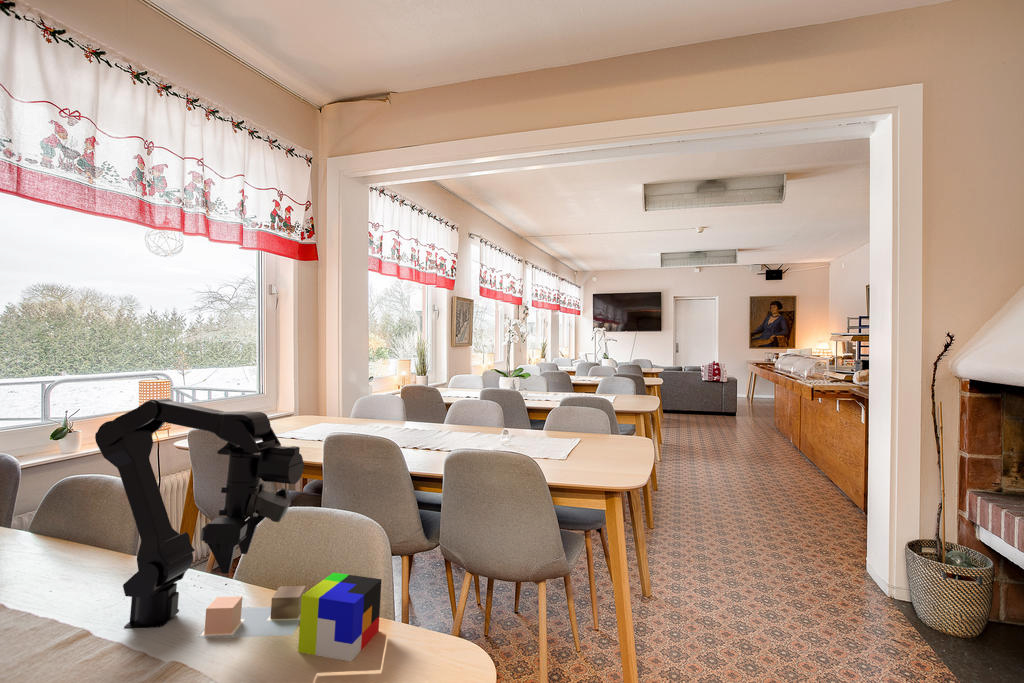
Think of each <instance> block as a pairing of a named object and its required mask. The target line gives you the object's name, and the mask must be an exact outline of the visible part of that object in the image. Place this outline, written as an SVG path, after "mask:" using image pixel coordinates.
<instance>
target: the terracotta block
mask: <svg viewBox="0 0 1024 683" xmlns="http://www.w3.org/2000/svg"><path fill="white" fill-rule="evenodd" d="M242 608H243V596H241V595H240V596H216V598H214V600H213V601H212V602H211V603H209V605H208V606H207V607H206V609H205V620H204V628H205V631H204V634H226V633H232V631H233V630H234V629H235V627H236V626H237V625H238V624H239V622H240V621H241V610H242Z"/></svg>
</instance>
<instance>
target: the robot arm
mask: <svg viewBox="0 0 1024 683" xmlns="http://www.w3.org/2000/svg"><path fill="white" fill-rule="evenodd" d="M165 423H167V424H171V425H176V426H181V427H184V428H185V427H186V428H189V429H190V428H191V429H195V430H200V431H204V432H209V433H211V434H214V435H215V436H216V437H217V438H219V439H220V440H221V441H225V442H227V443H226V444H225V445H224V446H222V447H221V448H220V449H218V450H217V453H216V454H217V455H223V456H228V460H227V471H226V480H225V484H224V485H223V486H222V487H221V490H220V491H221V494H224V500H223V501H224V502H223V507H221V508H220V509H219V511H218V516H225V517H214V519H212V520H211V521H209V522H208V523H207V524H206V525H205V526H203V527H202V528H201V532H200V533H201V534H200V541H202V542H204V544H206V545H208V548H209V549H210V552H211V553H212V554H213V557H214V559H215V561H216V564H217V565H218V566H217V567H218V568H219V570H220V572H221V574H222V575H227V574H230V572H231V569H232V564H233V560H234V557H235V554H236V553H235V552H236V549H237V546H239V550H240V554H242V555H247V554H248V553H249V550H250V548H251V544H252V543H253V539H254V537H255V534H256V531H257V529H258V526H259V524H260V523H261V522H262V521H263V520H265V518H267V519H270V521H272V522H275V523H280V522H281V520H282V519H283V518H284V517H285V516H286V513H287V512H288V509H289V507H290V506H291V503H292V498H290V491H289V489H287V488H284V487H281V488H280V489H279V490H277V491H276V492H274V491H271V492H269V491H266V490H265V486H266V485H265V484H264V482H267V483H277V484H286V485H287V484H289V485H295V484H297V483H298V482H299V481H300V479H301V478H302V475H303V474H304V468H305V462H304V458H303V456H302V454H301V453H300V449H301V448H300V447H299V446H284V445H283V446H282V443H281V442H280V440H279V439H278V437H277V435H276V433H275V432H274V429H273V428H272V426H271V421H270V419H269V417H268V415H267V414H266V413H264V412H263V411H249V410H248V411H247V410H246V411H245V410H243V411H223V410H219V409H214V408H209V407H203V406H199V405H194V404H189V403H184V402H179V401H175V400H172V399H171V398H157V399H155V398H154V399H150V400H147V401H145V402H144V403H142V404H141V405H139V406H138V407H136V408H134V409H132V410H129V411H127V412H126V413H124V414H122V415H119V416H117V417H115V418H114V419H113V420H109V421H106V422H104V423H102V424H101V425H100V426H99V427H98V429H97V432H95V436H94V440H95V443H96V445H97V448H98V449H99V451H100V453H101V454H102V457H103V458H104V459H105V460H106V461H108V462H109V463H110V464H112V465H113V466H114V467H115V468H116V469H117V470H118V473H119V477H120V479H121V483H122V486H123V488H124V492H125V495H126V498H127V501H128V504H129V507H130V510H131V513H132V516H133V519H134V522H135V525H136V526H135V527H136V528H137V532H138V535H139V538H140V545H139V548H138V553H137V557H136V565H137V572H135V574H133V575H132V576H131V577H130V578H129V579H128V580H127V581H125V582H124V583H123V585H122V588H123V593H124V596H125V597H129V598H131V602H130V603H131V604H130V612H129V613H130V614H129V622H127V624H124V626H123V629H149V628H150V629H151V628H153V629H154V628H162V627H164V626H165V625H166V624H167V623H168V622H169V621H170V620H171V619H173V618H174V617H175V616H176V615H177V614H178V613H179V612H180V609H179V598H180V592H179V591H177V587H178V583H176V582H179V581H181V580H183V579H184V576H185V574H186V572H187V571H188V570H189V569H190V567H191V566H192V563H193V562H194V554H193V553H194V552H195V551H196V549H195V548H194V547H193V546H192V544H191V539H190V535H189V533H188V532H187V531H184V532H183V533H179V532H177V530H175V529H174V528H173V526H172V524H171V521H170V519H169V514H168V513H167V510H166V506H165V502H164V500H163V497H162V494H161V491H160V488H159V484H158V482H157V478H156V476H155V473H154V470H153V467H152V464H151V461H150V456H151V453H152V449H153V446H154V439H153V434H155V433H156V432H157V431H159V430H161V428H163V426H164V424H165ZM261 480H262V481H261Z"/></svg>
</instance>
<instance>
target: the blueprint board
mask: <svg viewBox="0 0 1024 683" xmlns="http://www.w3.org/2000/svg"><path fill="white" fill-rule="evenodd" d="M300 614H301V613H300ZM270 617H271V606H259V607H258V606H257V607H254V606H253V607H242V610H241V621H240V622H239V624H238V625H237V626H236V627H235V629H234V630H233V631H232V633H226V634H204V631H205V627H203V629H202V630H200V632H199V633H198V635H196V637H195V639H216V638H217V639H218V638H219V639H223V638H243V637H245V638H246V637H248V638H249V637H252V638H253V637H276V636H277V637H279V636H280V637H281V636H282V637H283V636H293V635H294V634H295V631H296V630H297V628H298V625H300V615H299V617H298V618H294V619H270Z"/></svg>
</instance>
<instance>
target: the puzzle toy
mask: <svg viewBox="0 0 1024 683" xmlns="http://www.w3.org/2000/svg"><path fill="white" fill-rule="evenodd" d="M381 596H382V579H381V578H374V577H368V576H360V575H353V574H347V573H339V572H332V573H331V574H330V575H328V576H327V577H325V578H324V579H322V580H321V581H320V582H318V583H317V584H316V585H314V586H313V587H311V588H310V589H309V590H307V591H305V593H304V594H303V595H302V598H301V614H300V622H299V629H298V630H299V633H298V646H297V652H298V653H303V654H307V655H308V654H309V655H312V656H318V657H319V656H320V657H324V658H329V659H330V658H331V659H335V660H341V661H346V662H352V661H353V660H354V659H355V658H356V656H358V654H359V653H360V652H361V651H363V649H364V648H365V646H367V644H368V643H370V641H371V640H372V639H373V638H374V637H375V635H376V634H377V633H378V632H379V630H380V614H381V613H380V610H381Z"/></svg>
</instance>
